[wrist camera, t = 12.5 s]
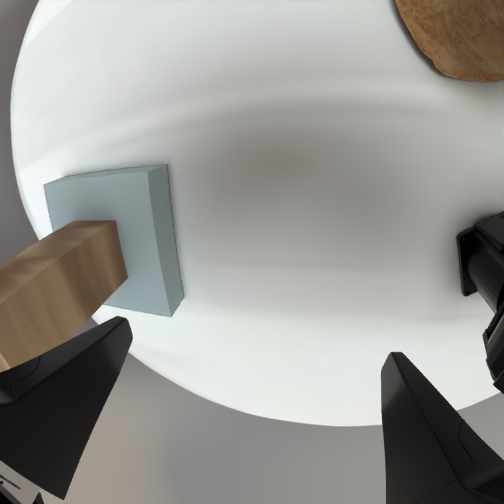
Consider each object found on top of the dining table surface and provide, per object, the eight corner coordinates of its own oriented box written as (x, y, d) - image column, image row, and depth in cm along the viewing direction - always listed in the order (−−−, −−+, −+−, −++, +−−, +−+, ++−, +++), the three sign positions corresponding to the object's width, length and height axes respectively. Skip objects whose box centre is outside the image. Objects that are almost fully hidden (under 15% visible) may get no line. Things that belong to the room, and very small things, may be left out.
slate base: (167, 164, 20) (147, 171, 17) (184, 297, 25) (171, 317, 22) (64, 176, 21) (43, 184, 19) (89, 283, 27) (73, 297, 24)
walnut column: (115, 220, 19) (-18, 320, 7) (128, 277, 21) (27, 391, 10) (73, 220, 20) (-44, 301, 8) (86, 271, 22) (-9, 363, 10)
